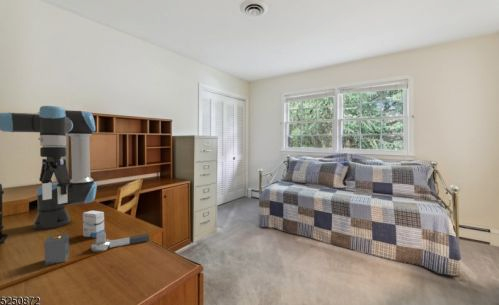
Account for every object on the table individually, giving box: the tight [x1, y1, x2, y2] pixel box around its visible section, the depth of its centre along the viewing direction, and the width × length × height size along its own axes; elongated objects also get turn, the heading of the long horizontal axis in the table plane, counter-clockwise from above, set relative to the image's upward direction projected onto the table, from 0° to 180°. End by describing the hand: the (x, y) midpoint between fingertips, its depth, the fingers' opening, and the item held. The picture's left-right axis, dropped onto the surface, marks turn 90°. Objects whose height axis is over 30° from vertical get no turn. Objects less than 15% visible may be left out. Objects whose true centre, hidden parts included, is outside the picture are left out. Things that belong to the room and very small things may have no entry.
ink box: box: [82, 210, 105, 239], centre depth 111 cm, size 8×5×12 cm, turn 74°
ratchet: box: [91, 231, 150, 253], centre depth 101 cm, size 22×7×6 cm, turn 118°
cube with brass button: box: [43, 233, 70, 266], centre depth 87 cm, size 6×6×9 cm
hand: (54, 201), depth 86 cm, fingers open, 13 cm apart
